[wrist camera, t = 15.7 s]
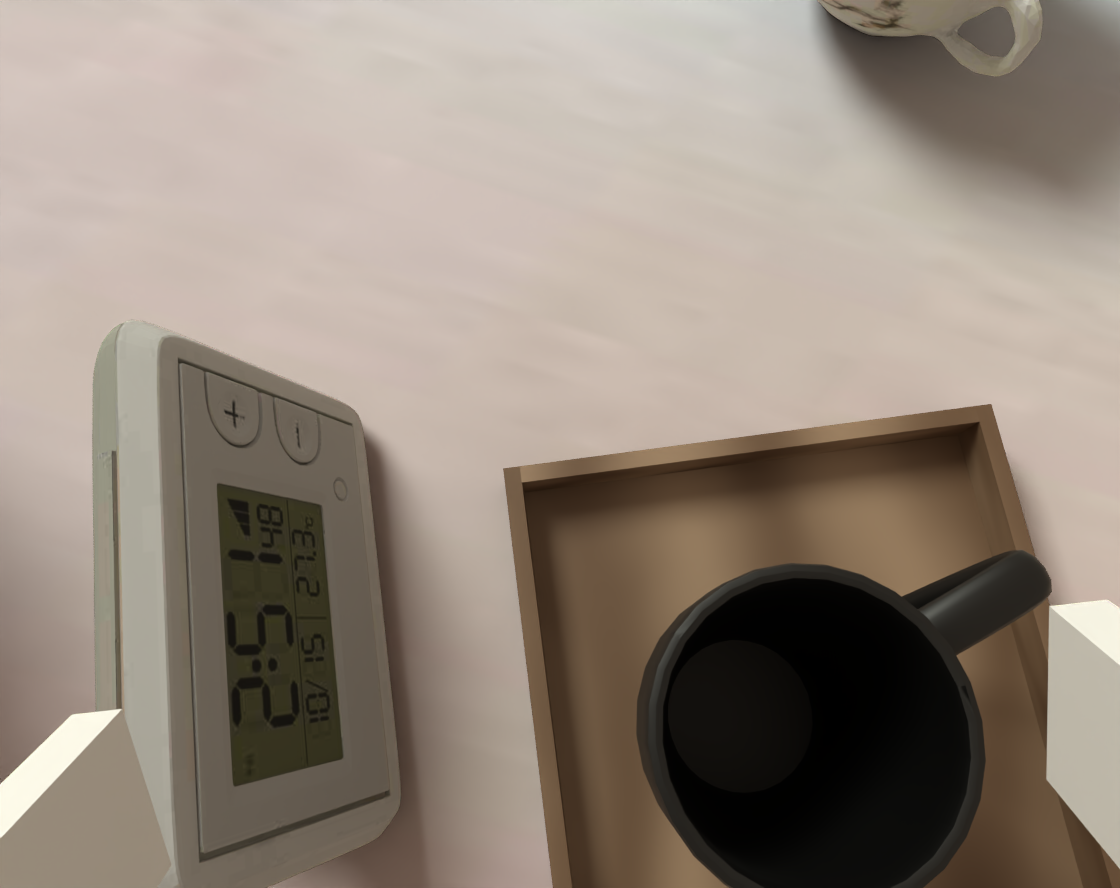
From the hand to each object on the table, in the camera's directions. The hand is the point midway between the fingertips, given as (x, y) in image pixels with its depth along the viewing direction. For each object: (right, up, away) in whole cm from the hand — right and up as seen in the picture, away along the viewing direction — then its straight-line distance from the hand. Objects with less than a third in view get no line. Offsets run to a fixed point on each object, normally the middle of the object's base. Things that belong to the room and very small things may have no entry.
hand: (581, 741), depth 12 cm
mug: (+8, -4, +18) cm, 20 cm away
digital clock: (-10, -2, +20) cm, 22 cm away
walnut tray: (+8, -5, +18) cm, 20 cm away
